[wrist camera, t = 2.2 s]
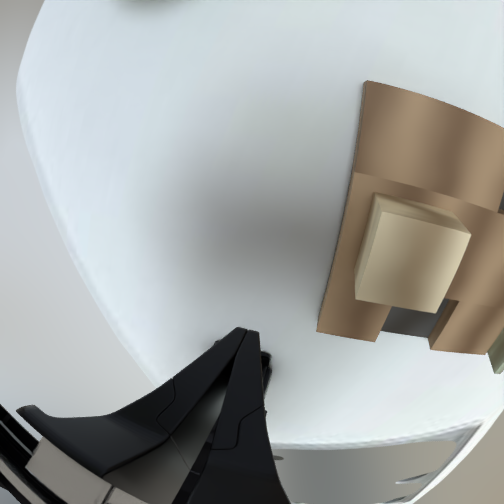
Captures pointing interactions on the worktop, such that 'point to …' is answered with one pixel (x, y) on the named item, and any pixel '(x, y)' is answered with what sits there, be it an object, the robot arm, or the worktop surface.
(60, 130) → the worktop surface
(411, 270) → the birch block
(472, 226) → the board
